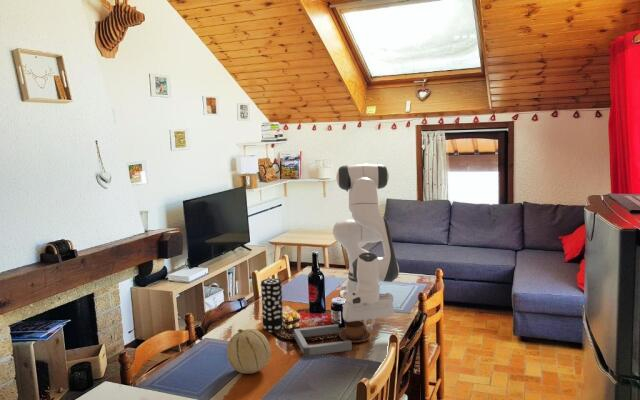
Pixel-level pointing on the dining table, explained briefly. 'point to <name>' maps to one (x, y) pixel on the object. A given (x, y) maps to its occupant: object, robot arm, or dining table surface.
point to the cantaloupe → (248, 351)
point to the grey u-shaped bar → (320, 348)
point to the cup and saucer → (354, 332)
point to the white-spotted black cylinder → (272, 305)
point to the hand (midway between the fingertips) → (368, 329)
